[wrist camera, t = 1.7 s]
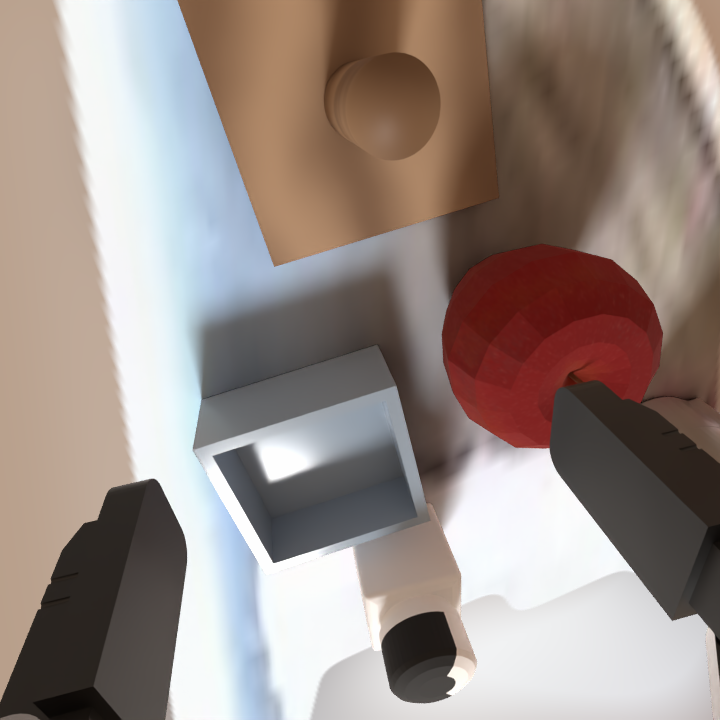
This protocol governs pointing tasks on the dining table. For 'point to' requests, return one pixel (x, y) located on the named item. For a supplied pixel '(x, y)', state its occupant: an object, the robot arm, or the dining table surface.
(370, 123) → the lid
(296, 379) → the grey open box
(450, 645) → the medicine bottle
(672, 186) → the dining table surface
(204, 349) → the dining table surface
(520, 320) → the apple
